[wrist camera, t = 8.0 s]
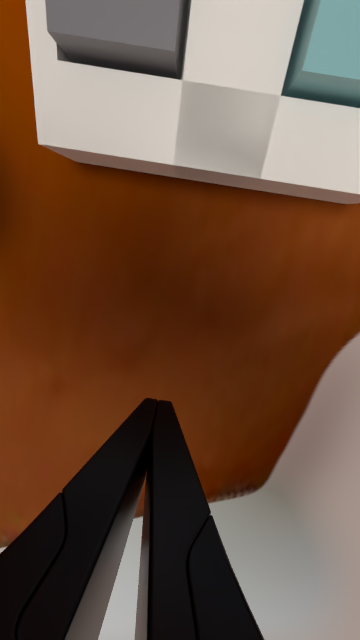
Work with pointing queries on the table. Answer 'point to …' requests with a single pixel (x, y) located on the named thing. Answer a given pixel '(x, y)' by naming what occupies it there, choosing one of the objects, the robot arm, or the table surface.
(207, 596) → the robot arm
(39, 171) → the table surface
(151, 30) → the charcoal key
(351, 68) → the teal key
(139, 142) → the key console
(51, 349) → the table surface
